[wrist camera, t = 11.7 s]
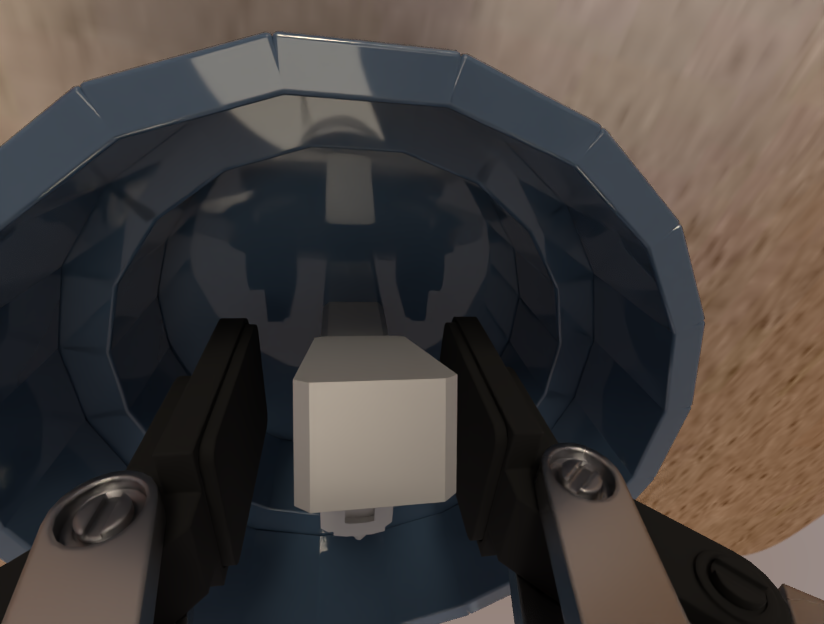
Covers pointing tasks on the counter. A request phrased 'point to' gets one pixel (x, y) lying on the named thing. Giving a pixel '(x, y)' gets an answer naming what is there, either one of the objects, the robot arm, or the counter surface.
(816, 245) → the counter surface
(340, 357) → the lighter
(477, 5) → the counter surface
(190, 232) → the bowl
